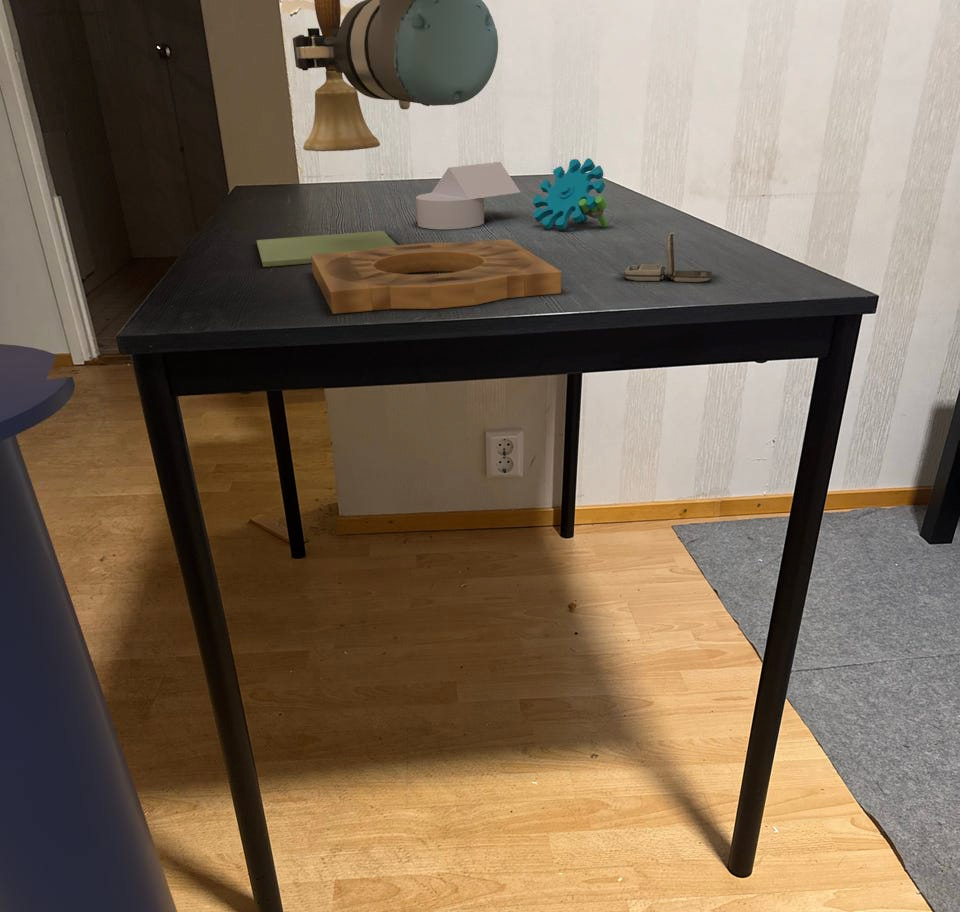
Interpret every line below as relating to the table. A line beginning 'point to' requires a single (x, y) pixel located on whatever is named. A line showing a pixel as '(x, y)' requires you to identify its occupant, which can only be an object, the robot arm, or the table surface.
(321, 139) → the hand bell
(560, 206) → the gear
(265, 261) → the mat
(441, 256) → the socket board
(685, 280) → the strap clip
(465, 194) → the wedge on round base
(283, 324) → the table surface
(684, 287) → the table surface
